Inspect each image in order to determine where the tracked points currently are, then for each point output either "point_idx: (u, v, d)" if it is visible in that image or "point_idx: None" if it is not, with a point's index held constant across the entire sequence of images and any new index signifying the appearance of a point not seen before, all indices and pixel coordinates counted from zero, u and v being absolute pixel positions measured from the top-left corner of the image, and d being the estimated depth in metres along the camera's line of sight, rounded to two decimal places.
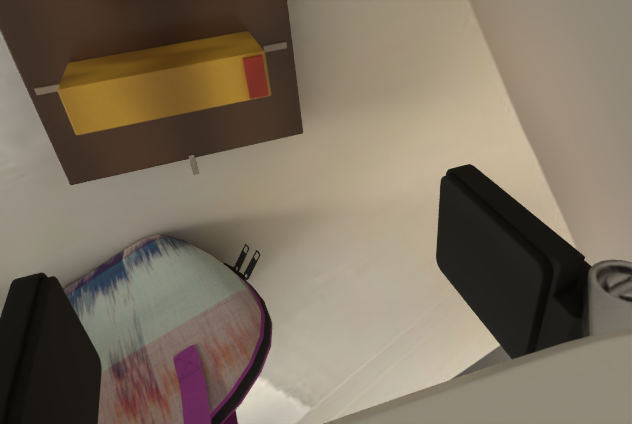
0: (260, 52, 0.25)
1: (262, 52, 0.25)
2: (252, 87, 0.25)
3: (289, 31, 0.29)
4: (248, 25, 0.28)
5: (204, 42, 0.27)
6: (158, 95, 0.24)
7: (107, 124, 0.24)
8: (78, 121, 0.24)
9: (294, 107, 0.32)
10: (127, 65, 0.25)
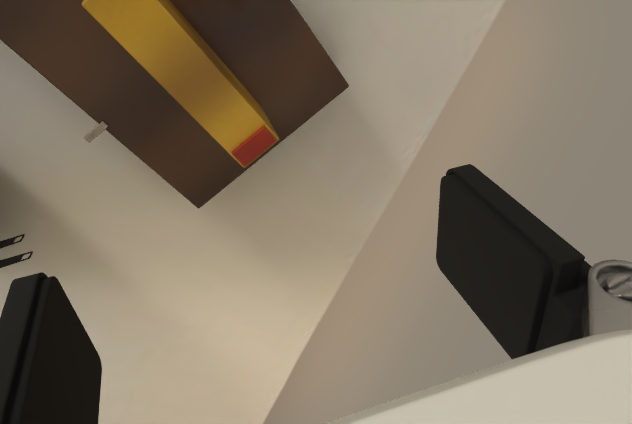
0: (276, 136, 0.24)
1: (278, 138, 0.25)
2: (244, 149, 0.24)
3: (280, 140, 0.30)
4: (266, 105, 0.28)
5: (235, 78, 0.26)
6: (184, 69, 0.21)
7: (117, 33, 0.20)
8: (101, 0, 0.19)
9: (218, 186, 0.30)
10: (181, 21, 0.22)
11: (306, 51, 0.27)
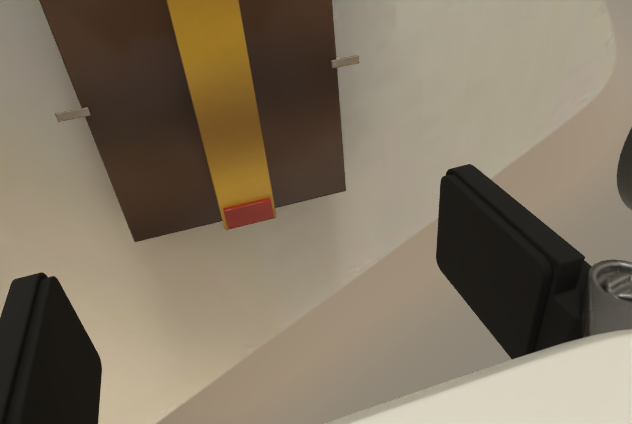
0: (274, 213, 0.22)
1: (275, 216, 0.22)
2: (238, 212, 0.21)
3: None
4: None
5: None
6: (227, 108, 0.19)
7: (184, 39, 0.17)
8: None
9: (169, 228, 0.26)
10: None
11: (326, 141, 0.26)
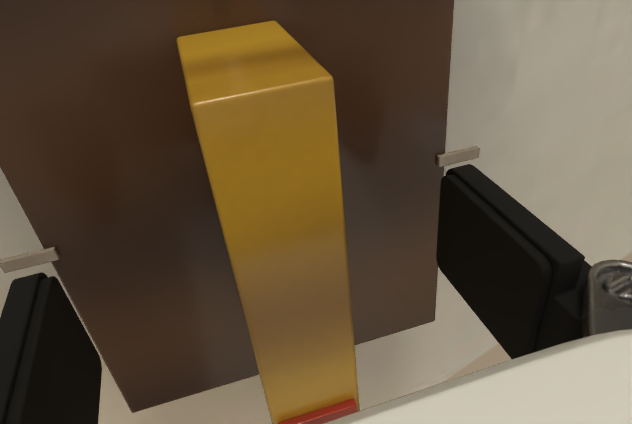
0: None
1: None
2: None
3: None
4: None
5: None
6: (298, 287, 0.10)
7: (226, 187, 0.09)
8: (238, 117, 0.08)
9: (183, 391, 0.18)
10: None
11: (417, 263, 0.18)
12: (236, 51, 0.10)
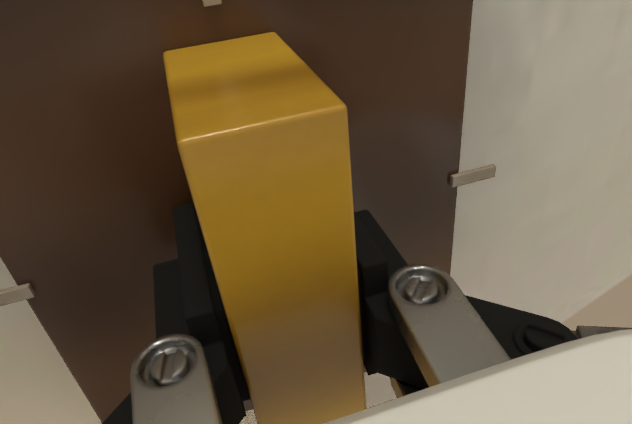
0: None
1: None
2: None
3: None
4: None
5: None
6: (303, 338, 0.09)
7: (221, 234, 0.07)
8: (234, 154, 0.07)
9: None
10: None
11: None
12: (231, 70, 0.08)
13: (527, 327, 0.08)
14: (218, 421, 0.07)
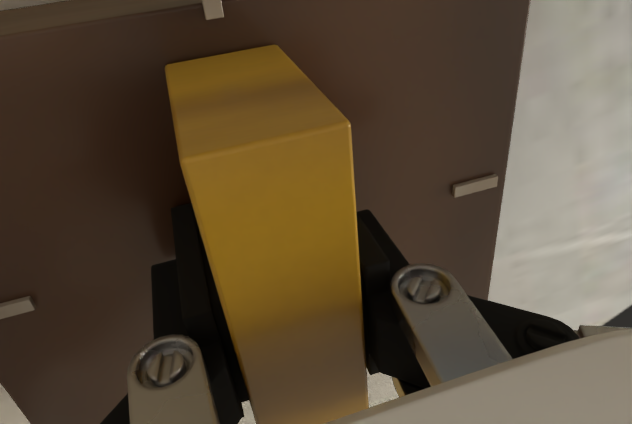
0: None
1: None
2: None
3: None
4: (83, 333, 0.13)
5: None
6: (306, 353, 0.09)
7: (224, 251, 0.07)
8: (238, 172, 0.07)
9: None
10: None
11: None
12: (234, 85, 0.08)
13: (529, 326, 0.08)
14: (216, 422, 0.07)
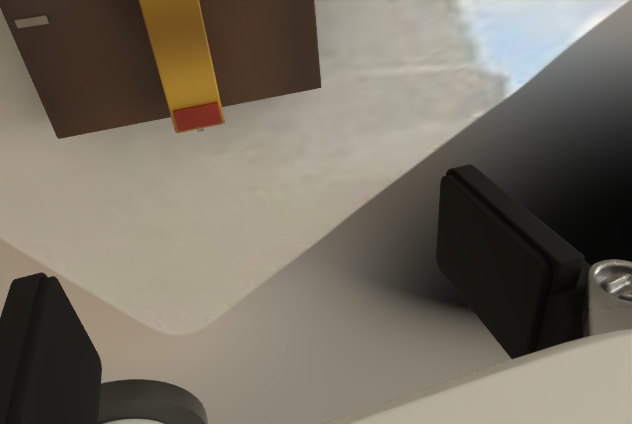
0: (223, 119, 0.24)
1: (223, 121, 0.24)
2: (187, 114, 0.23)
3: (17, 40, 0.23)
4: (74, 47, 0.24)
5: None
6: (171, 6, 0.20)
7: None
8: None
9: None
10: None
11: (117, 112, 0.26)
12: None
13: None
14: None
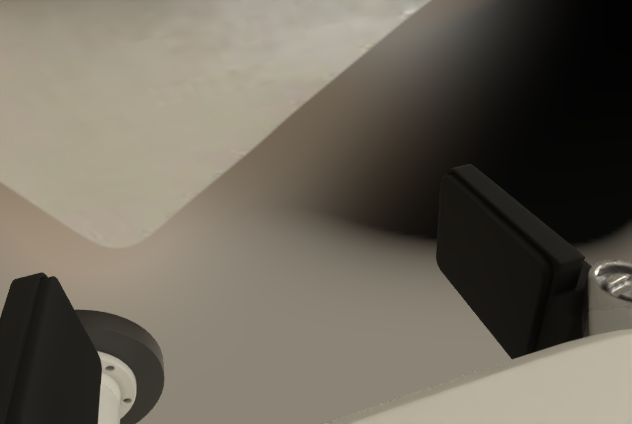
0: None
1: None
2: None
3: None
4: None
5: None
6: None
7: None
8: None
9: None
10: None
11: None
12: None
13: None
14: None
